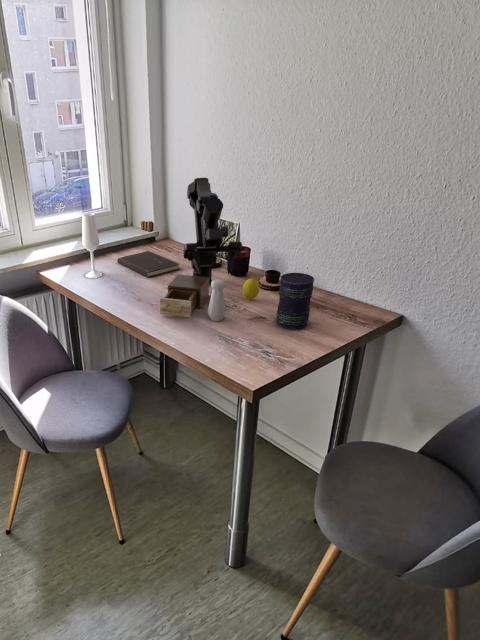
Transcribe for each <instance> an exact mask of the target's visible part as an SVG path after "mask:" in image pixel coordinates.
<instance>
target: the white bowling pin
mask: <svg viewBox="0 0 480 640" xmlns="http://www.w3.org/2000/svg"><path fill="white" fill-rule="evenodd" d="M210 287H211V289H212V291H211V294H210V299H209V304H208V308H207V315H208V317H209V319H210V320H211V321H212V322H220V321H223V320H224V317H225V316H226V314H227V310H226V304H225V297H224V291H223V289H224V288H225V287H226V282H225V280H224V279H221V278H215V279H213V281H212V282H211V284H210Z"/></svg>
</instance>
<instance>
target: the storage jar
mask: <svg viewBox="0 0 480 640" xmlns="http://www.w3.org/2000/svg"><path fill="white" fill-rule="evenodd" d="M314 283H315V277H313V275H311V274H308V273H304V272H288V273H284V274H282V275H281V276H280V282H279V291H278V296H279V298H278V305H277V310H276V314H275V315H276V320H275V325H276V326H277V327H279V328H281V329H284V330H288V331H299V330H303V329H306V328H307V327H308V323H309V318H310V310H311V308H310V304H311V298H312V297H313V292H314Z"/></svg>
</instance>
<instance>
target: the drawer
mask: <svg viewBox="0 0 480 640" xmlns="http://www.w3.org/2000/svg"><path fill="white" fill-rule="evenodd" d="M196 305H197V291H193V290H183V289H173V288H172V289H171V290H170V291H169V292H168V291H167V293H166V295H164V297H160V299H159V314H160V315H167V316H174V317H175V316H176V317H183V318H184V317H185V318H191V317H192V312H193V310H194V309H196V308H195V306H196Z"/></svg>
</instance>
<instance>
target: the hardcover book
mask: <svg viewBox="0 0 480 640" xmlns="http://www.w3.org/2000/svg"><path fill="white" fill-rule="evenodd" d="M117 264H119V265H121V266H124V267H126V268H127V269H130V270H132V271H134V272H135V273H138V274H140V275H142V276H143V277H146V278H153V277H156V276H160V275H163V274H167V273H171V272H175V271H178V270H180V268H179V266H180V263H178V262H176V261H173V260H171V259H168V258H166V257H165V256H162V255H159V254H157V253H154V252H153V251H149V250H146V251H142V252H137V253H134V254H129V255H125V256H121V257H118V258H117Z"/></svg>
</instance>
